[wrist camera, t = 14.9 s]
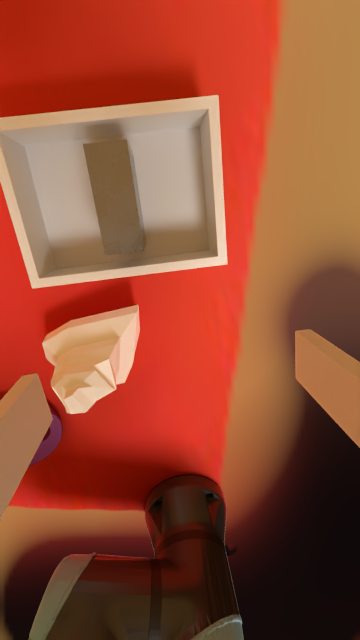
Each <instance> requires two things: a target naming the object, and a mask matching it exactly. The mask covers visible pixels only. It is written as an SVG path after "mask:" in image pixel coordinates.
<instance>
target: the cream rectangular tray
mask: <svg viewBox="0 0 360 640" xmlns="http://www.w3.org/2000/svg"><path fill="white" fill-rule="evenodd" d="M124 139H127V141H128V143H129V146H130V148H131V151H132V154H133V156H134V163H135V170H136V176H137V183H138V190H139V197H140V203H141V210H142V217H143V224H144V230H145V237H146V247H145V250H144V251H141V252H133V253H125V254H117V255H108V256H105V253H104V248H103V243H102V238H101V233H100V228H99V223H98V218H97V213H96V208H95V203H94V198H93V193H92V188H91V183H90V178H89V173H88V168H87V163H86V158H85V153H84V148H83V144H88V143H97V142H106V141H115V140H124ZM0 182H1V186H2V189H3V192H4V196H5V199H6V202H7V206H8V209H9V212H10V216H11V219H12V222H13V226H14V229H15V232H16V236H17V239H18V242H19V246H20V249H21V252H22V256H23V259H24V262H25V266H26V269H27V272H28V276H29V279H30V283H31V286H32V289H33V288H41V287H49V286H57V285H65V284H73V283H81V282H89V281H97V280H105V279H113V278H121V277H129V276H137V275H145V274H153V273H161V272H169V271H177V270H185V269H193V268H201V267H209V266H217V265H225V264H227V249H226V230H225V211H224V192H223V173H222V154H221V135H220V116H219V97H218V95H213V96H203V97H193V98H184V99H174V100H165V101H155V102H145V103H136V104H126V105H117V106H107V107H97V108H88V109H78V110H69V111H59V112H50V113H40V114H30V115H21V116H11V117H2V118H0Z"/></svg>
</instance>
